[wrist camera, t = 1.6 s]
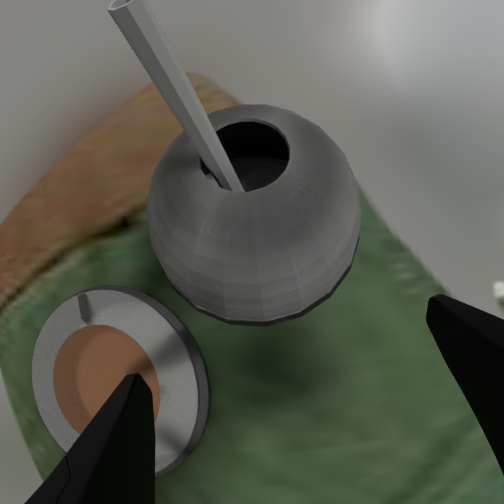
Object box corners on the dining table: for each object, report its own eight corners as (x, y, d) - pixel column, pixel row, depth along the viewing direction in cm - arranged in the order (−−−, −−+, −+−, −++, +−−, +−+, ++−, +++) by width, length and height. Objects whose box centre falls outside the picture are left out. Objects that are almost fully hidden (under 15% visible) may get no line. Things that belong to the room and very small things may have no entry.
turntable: (227, 462, 17) (225, 466, 17) (66, 476, 17) (60, 479, 16) (169, 268, 22) (165, 264, 21) (26, 315, 21) (19, 314, 21)
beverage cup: (336, 310, 21) (578, 101, 2) (237, 355, 21) (-47, 369, 2) (290, 219, 23) (308, -85, 4) (198, 259, 23) (13, 9, 4)
